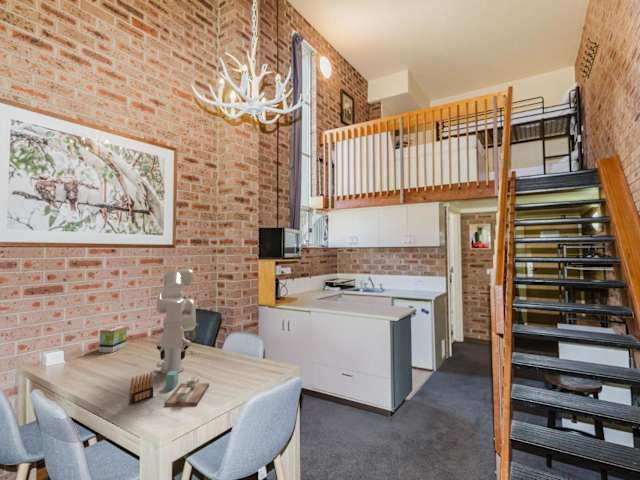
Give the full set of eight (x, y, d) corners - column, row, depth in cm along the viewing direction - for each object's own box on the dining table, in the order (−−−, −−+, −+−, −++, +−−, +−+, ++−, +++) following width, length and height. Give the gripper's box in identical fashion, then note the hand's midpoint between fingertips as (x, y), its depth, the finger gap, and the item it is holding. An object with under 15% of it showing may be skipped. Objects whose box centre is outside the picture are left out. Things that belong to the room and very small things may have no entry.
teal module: (165, 389, 169) (165, 375, 169) (169, 384, 175) (170, 370, 175) (173, 389, 169) (174, 374, 170) (177, 384, 175) (178, 370, 176)
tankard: (167, 343, 250) (168, 323, 250) (177, 339, 262) (177, 320, 263) (192, 345, 247) (193, 324, 247) (201, 341, 259) (201, 321, 260)
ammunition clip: (151, 396, 161) (151, 370, 161) (153, 397, 160) (154, 371, 160) (128, 404, 152) (129, 377, 152) (130, 405, 151) (131, 378, 151)
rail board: (164, 406, 151) (164, 394, 151) (180, 386, 173) (181, 375, 173) (196, 405, 152) (197, 393, 152) (208, 386, 174) (209, 375, 174)
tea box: (113, 352, 227) (114, 330, 227) (98, 352, 227) (99, 330, 227) (126, 346, 242) (127, 325, 242) (112, 346, 242) (113, 325, 242)
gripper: (153, 326, 169) (151, 361, 168) (188, 326, 170) (187, 360, 169) (159, 323, 176) (158, 357, 175) (193, 323, 178) (192, 356, 177)
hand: (172, 358), depth 172 cm, fingers open, 9 cm apart
